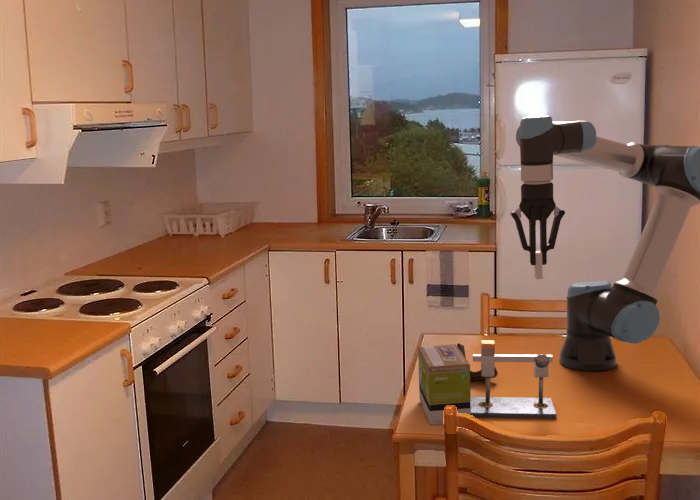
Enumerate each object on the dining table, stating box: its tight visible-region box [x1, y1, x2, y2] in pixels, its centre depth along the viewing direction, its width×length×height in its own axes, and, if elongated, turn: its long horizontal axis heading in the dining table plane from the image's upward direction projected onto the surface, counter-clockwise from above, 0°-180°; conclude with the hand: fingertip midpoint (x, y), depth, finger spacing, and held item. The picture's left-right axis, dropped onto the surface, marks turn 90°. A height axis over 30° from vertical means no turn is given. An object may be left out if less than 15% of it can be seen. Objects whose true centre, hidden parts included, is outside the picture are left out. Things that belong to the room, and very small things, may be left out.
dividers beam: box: [472, 353, 554, 404], centre depth 185 cm, size 18×3×13 cm, turn 83°
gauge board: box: [471, 396, 557, 420], centre depth 186 cm, size 20×10×1 cm, turn 83°
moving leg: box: [480, 339, 496, 403], centre depth 185 cm, size 3×3×15 cm
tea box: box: [417, 343, 472, 426], centre depth 185 cm, size 15×10×15 cm, turn 5°
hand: (538, 277), depth 189 cm, fingers closed
